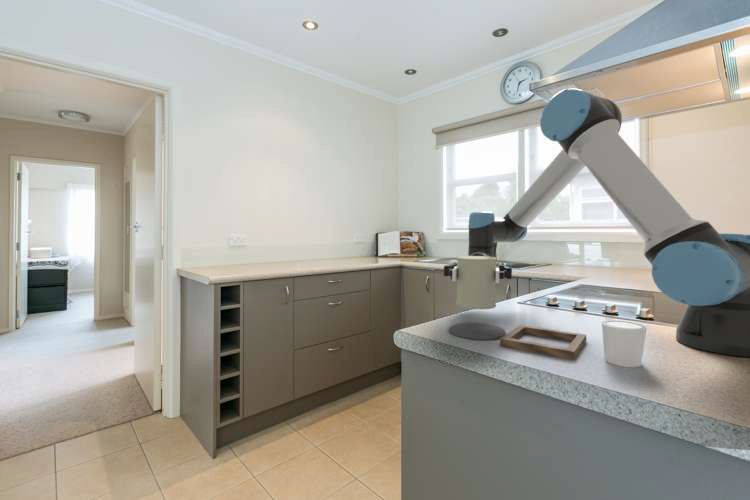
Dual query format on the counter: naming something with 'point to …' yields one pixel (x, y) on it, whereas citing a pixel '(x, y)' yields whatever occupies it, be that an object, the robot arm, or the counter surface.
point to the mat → (477, 331)
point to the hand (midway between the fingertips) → (475, 276)
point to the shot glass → (623, 342)
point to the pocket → (568, 353)
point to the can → (476, 282)
